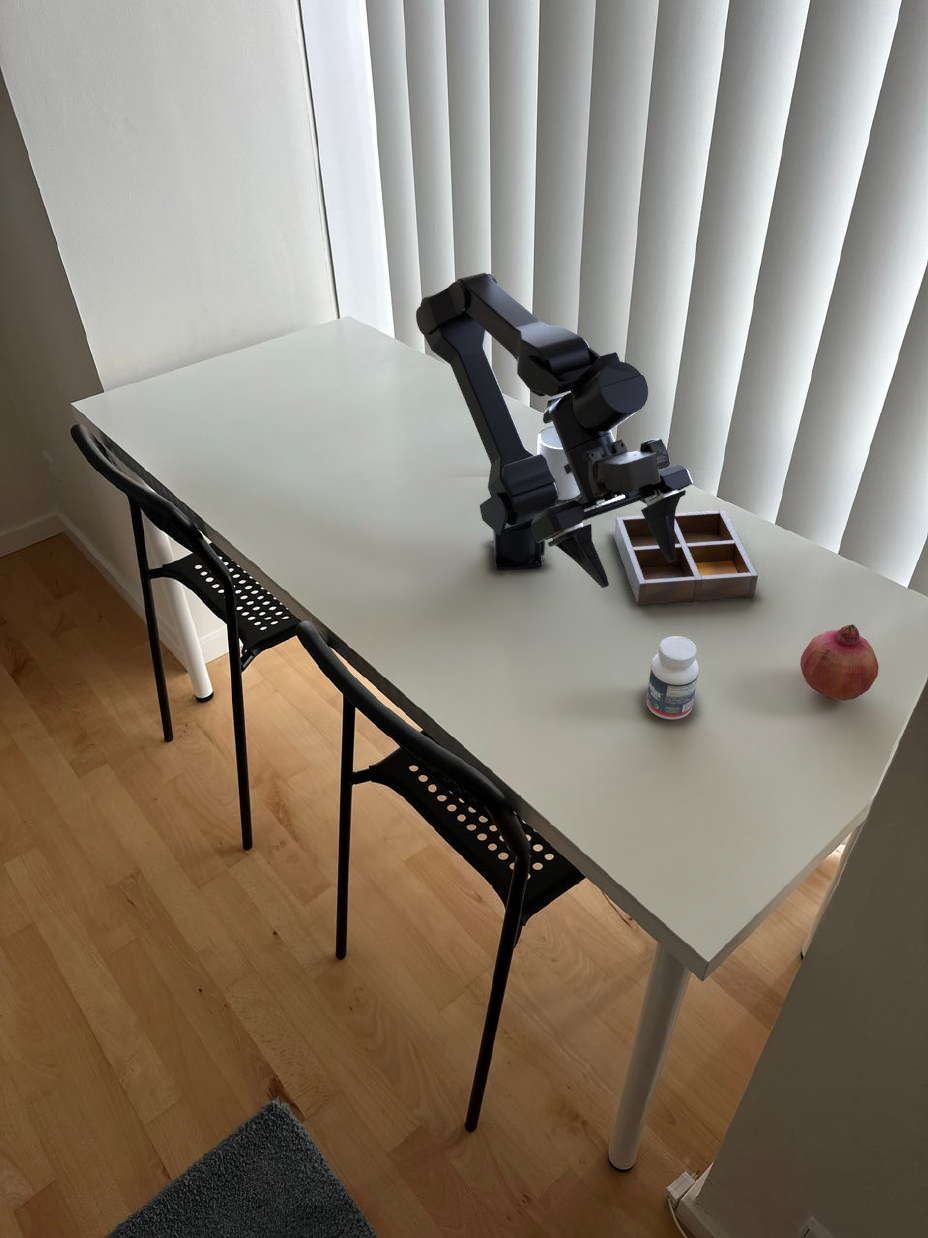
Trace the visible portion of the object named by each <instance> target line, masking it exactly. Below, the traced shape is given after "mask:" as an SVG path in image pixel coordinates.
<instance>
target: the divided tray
mask: <svg viewBox="0 0 928 1238" xmlns="http://www.w3.org/2000/svg"><path fill="white" fill-rule="evenodd" d="M674 530H675V557H676V558H675V560H674V561H672V562H668V561H667V560H666V558H665V556H664V555H663V553H662V552H661V550H660V548H659V546H658V544H657V542H656V540H655V538H654V536H653V534H652V532H651V530H650V528H649V526H648V524H647V522H646V520H645V518H644V516H643V515H629V516H628V515H627V516H617V517H615V524H614V536H613V538H614V542H615V544H616V546H617V550H618V553H619V556H620V558H621V562H622V564H623V568H624V571H625V573H626V576H627V580H628V582H629V584H630V588H631V590H632V593H633V597H634V599H635V603H636V605H637V606H643V605H657V604H669V603H686V602H699V601H711V600H712V601H713V600H714V601H715V600H727V599H741V598H754V596H755V592H756V588H757V587H756V586H757V583H758V578H759V575H758V573H757V571H756V569H755V567H754V565H753V563H752V561H751V560H750V556H749V555H748V554H747V551H746V550H745V547H744V545H743V544H742V542H741V540H740V538H739V536H738V534H737V532H736V530H735V528H734V526H733V525H732V522H731V521H730V519H729V517H728V515H727V513H726V511H725V510H724V509H721V510H720V509H719V510H705V511H704V510H703V511H689V512H675V529H674Z"/></svg>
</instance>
